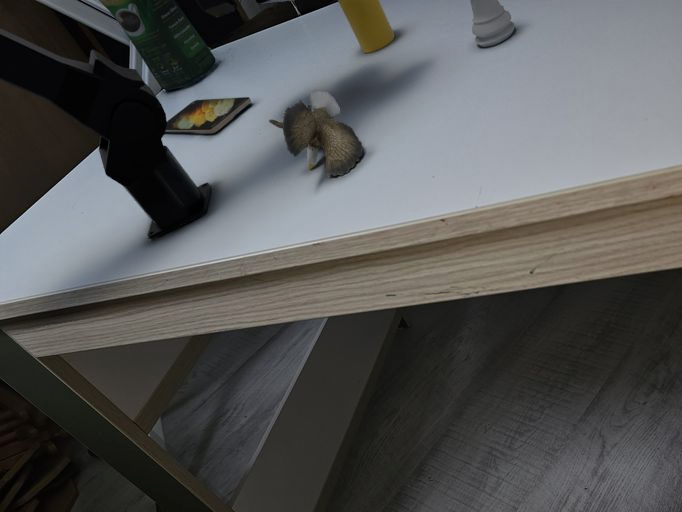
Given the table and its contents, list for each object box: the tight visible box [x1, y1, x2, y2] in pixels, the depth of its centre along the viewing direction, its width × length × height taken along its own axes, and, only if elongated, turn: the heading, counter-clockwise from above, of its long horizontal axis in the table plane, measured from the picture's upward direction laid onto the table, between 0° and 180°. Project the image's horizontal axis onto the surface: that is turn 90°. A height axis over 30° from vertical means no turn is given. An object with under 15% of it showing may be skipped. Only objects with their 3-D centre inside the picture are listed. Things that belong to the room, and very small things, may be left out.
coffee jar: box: [98, 0, 217, 91], centre depth 103 cm, size 10×8×19 cm
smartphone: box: [165, 96, 252, 134], centre depth 91 cm, size 7×1×15 cm
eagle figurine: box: [268, 90, 363, 177], centre depth 65 cm, size 8×7×9 cm
